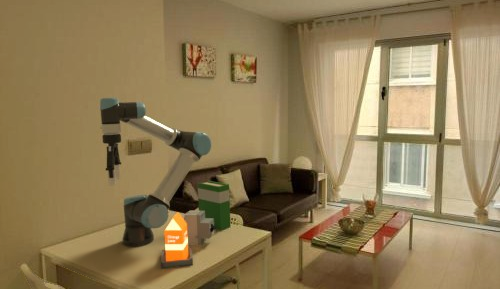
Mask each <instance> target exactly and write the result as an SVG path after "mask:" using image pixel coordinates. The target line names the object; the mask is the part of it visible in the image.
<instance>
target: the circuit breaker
mask: <svg viewBox="0 0 500 289" xmlns="http://www.w3.org/2000/svg"><path fill="white" fill-rule="evenodd" d="M183 219H184V221H185V222H186V223H187V236H188V244H189V245H188V246H200V245H201V246H202V245H203V244H204V243H205V242H206V241H207V239H210V238H212V236H213V235H214V234H215V230H216V229H215V228H216V226H214V218H205V211H199V210H189V211H187V212H186V213H184V216H183Z"/></svg>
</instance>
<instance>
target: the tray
mask: <svg viewBox="0 0 500 289" xmlns="http://www.w3.org/2000/svg"><path fill="white" fill-rule="evenodd" d="M160 261H161V262H160V266H161V268H160V269H163V270H164V269H171V268H180V267H187V266H193V265H194V261H193V251H192V247H191V246H188V257H187V259H183V260H174V261H166V250H165V249H162V250H161V260H160Z"/></svg>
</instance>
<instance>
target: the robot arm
mask: <svg viewBox="0 0 500 289" xmlns="http://www.w3.org/2000/svg"><path fill="white" fill-rule="evenodd" d="M99 110H100V121H101V126H100V129H101V133H102V134H103V135H102V143H103V144H108V145H107V146H106V168H105V171H106V172H107V176H108V177H107V179H108V186H109V187H111V186H116V185H117V180H121V165H122V161H121V160H120V151H119V147H118V146H119V144H118V143H122V134H121V133H122V131H121V130H122V129H121V122H123V123H125V124H127V125H129V126H132V127H133V128H135V129H138V130H140V131H141V132H143V133H146V134H148V135H149V136H152V137H154V138H157V139H159V140H161V141H163V142H164V143H165V145H166V146H169V147H171V148H172V149H174V150H177V151H179V155H178V156H177V157H176V159H175V160H174V162H173V164H172V165H171V167H170V168H169V169H168V171H167V173H166V174H165V176H164V177H163V178H162V180H161V182H160V183H159V185H158V186H157V188H156V190H155V191H154V192H153V193H149V194H139V195H132V196H128V197H126V198H124V199H123V212H124V213H123V214H124V230H123V231H124V232H123V236H122V239H121V240H122V245H124V246H126V247H140V246H145V245H149V244H150V243H152V242H153V241H154V240H155V234H154V232H153V229H155V230H156V229H159V228H161V227H162V226H164V225H165V224H166V222H168V219H169V209H170V208H171V205H170V201H171V200H172V198H173V197H174V195H175V194H176V192H177V191H178V189H179V187H180V186H181V185H182V182H183V181H184V180H185V178H186V176H187V174H189V171H190V170H191V168H192V167H193V166H194V164H195V163H198V162H199V161H200V159H201V158H203V157H202V156H206V155H208V154H209V153H210V151H211V150H212V140H211V138H210V136H209V135H208V134H207V133H205V132H202V131H195V132H194V131H184V130H179V129H177V128H170V127H169V126H167V125H165V124H162V123H161V122H158V121H156V120H155V119H153V118H151V117H149V116H147V115H146V112H147V110H146V106H145V103H143V102H141V101H135V102H134V101H130V102H126V101H125V102H120V100H119V98H118V97H102V98H101V99H100V101H99Z"/></svg>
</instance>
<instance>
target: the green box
mask: <svg viewBox="0 0 500 289" xmlns="http://www.w3.org/2000/svg"><path fill="white" fill-rule="evenodd" d="M197 199H198V200H197V202H198V204H197V205H198V211H205V218H214V226H216V228H215V229H214V230H217V231H220V232H221V231H224V230H227V229H229V228H231V206H230V204H231V203H230V184H229V183H223V182H217V181H212V180H206V181H205V182H197Z"/></svg>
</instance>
